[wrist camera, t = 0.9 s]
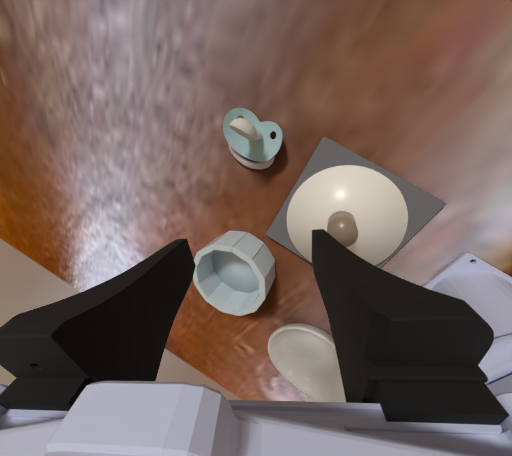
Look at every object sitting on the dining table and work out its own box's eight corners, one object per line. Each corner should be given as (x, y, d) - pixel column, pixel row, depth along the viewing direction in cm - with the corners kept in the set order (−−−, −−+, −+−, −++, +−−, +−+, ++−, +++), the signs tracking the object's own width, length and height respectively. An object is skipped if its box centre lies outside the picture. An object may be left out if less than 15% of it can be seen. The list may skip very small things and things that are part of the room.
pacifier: (271, 177, 27) (292, 130, 24) (253, 187, 21) (278, 127, 18) (223, 152, 28) (238, 104, 25) (195, 155, 22) (209, 94, 20)
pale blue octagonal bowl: (288, 258, 30) (280, 277, 25) (255, 305, 35) (243, 327, 30) (225, 217, 31) (206, 229, 27) (202, 268, 36) (183, 285, 32)
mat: (444, 202, 21) (446, 203, 21) (355, 289, 28) (355, 291, 27) (324, 136, 23) (323, 136, 22) (266, 233, 29) (265, 234, 29)
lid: (437, 205, 21) (458, 216, 18) (354, 287, 27) (357, 308, 24) (325, 142, 23) (323, 142, 19) (270, 233, 29) (260, 246, 25)
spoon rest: (262, 338, 37) (247, 377, 31) (294, 297, 32) (284, 334, 26) (384, 422, 34) (394, 484, 28) (443, 393, 29) (472, 461, 23)
